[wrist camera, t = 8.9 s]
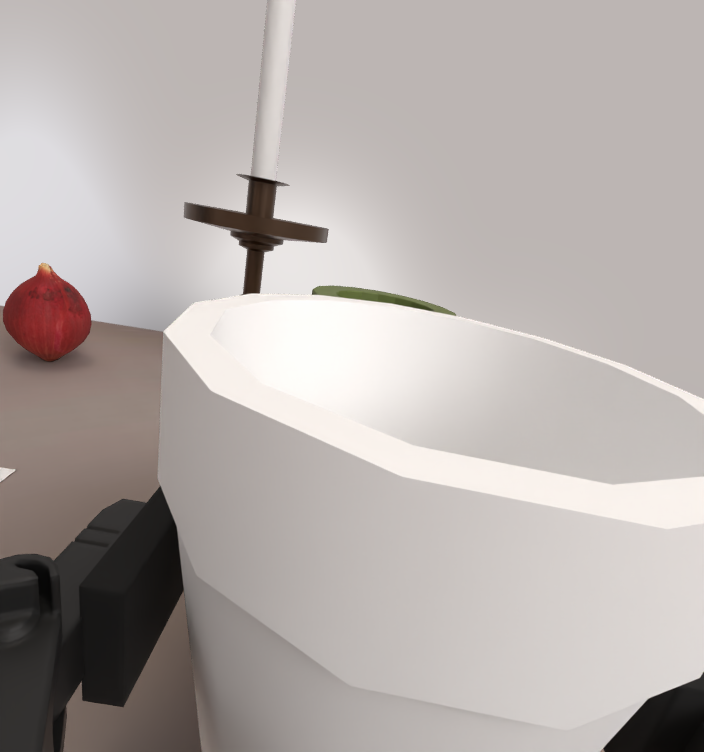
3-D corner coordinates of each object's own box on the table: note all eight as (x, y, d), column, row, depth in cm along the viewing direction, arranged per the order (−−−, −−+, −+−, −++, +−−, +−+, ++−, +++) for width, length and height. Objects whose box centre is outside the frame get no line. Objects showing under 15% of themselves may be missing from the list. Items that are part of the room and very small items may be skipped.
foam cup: (336, 603, 18) (402, 296, 14) (558, 812, 13) (775, 405, 8) (81, 788, 11) (63, 289, 7) (324, 1439, 6) (897, 865, 2)
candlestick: (152, 401, 33) (174, -241, 22) (199, 359, 43) (230, -90, 32) (295, 423, 33) (387, -188, 22) (308, 377, 44) (375, -56, 32)
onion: (107, 360, 38) (107, 270, 36) (49, 378, 33) (43, 273, 31) (53, 345, 40) (49, 256, 37) (-12, 360, 34) (-22, 257, 32)
